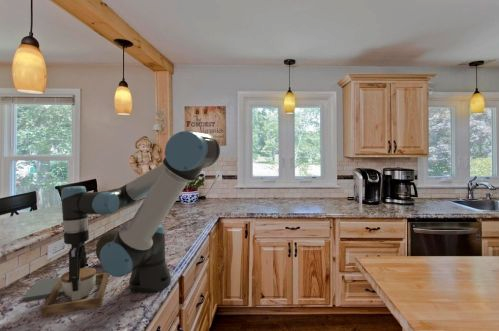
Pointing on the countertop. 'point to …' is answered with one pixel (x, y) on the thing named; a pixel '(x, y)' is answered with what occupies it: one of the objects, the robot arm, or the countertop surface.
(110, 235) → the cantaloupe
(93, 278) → the lidded jar
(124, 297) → the countertop surface
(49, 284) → the trivet
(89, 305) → the pocket frame
